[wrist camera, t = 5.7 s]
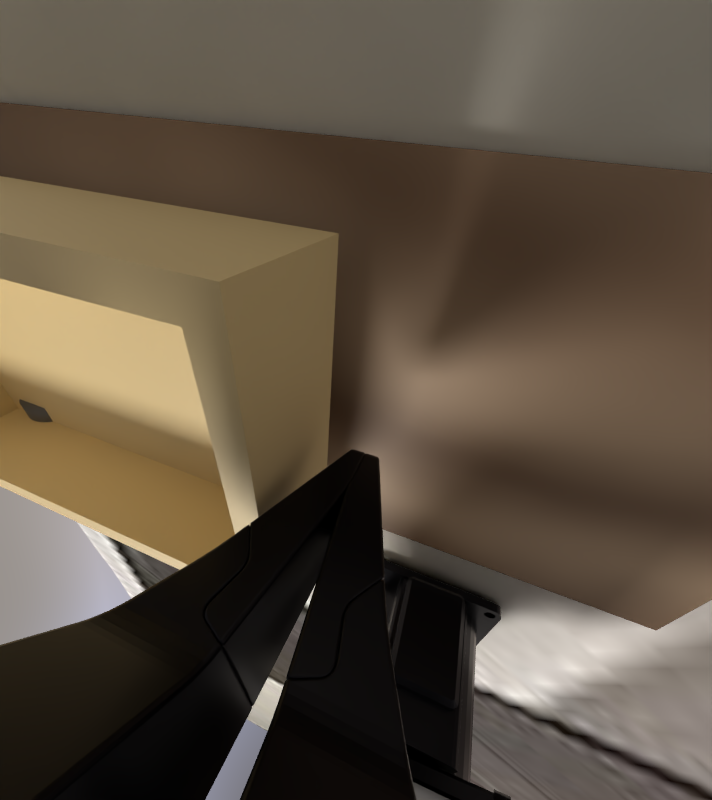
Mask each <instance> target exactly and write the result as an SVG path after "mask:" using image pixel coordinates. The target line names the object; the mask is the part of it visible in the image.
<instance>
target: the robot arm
mask: <svg viewBox="0 0 712 800" xmlns="http://www.w3.org/2000/svg"><path fill="white" fill-rule="evenodd" d="M315 584H316V585H315ZM314 586H315V588H314ZM313 588H314V592H313V595H312V598H311V601H310V604H309V607H308V611H307V614H306V617H305V620H304V623H303V626H302V630H301V633H300V636H299V639H298V642H297V645H296V648H295V652H294V655H293V658H292V661H291V664H290V667H289V671H288V674H287V680H286V681H285V683H284V686H283V690H282V693H281V696H280V699H279V702H278V705H277V707H276V710H275V713H274V716H273V719H272V721H271V724H270V727H269V729H268V732H267V735H266V737H265V739H264V742H263V744H262V747H261V749H260V752H259V754H258V756H257V759H256V761H255V764H254V766H253V769H252V771H251V774H250V776H249V779H248V781H247V784H246V786H245V788H244V791H243V793H242V796H241V798H240V800H511V797H510V796H508V795H506V794H503V793H501V792H499V791H497V790H495V789H494V793H493V792H490V791H488V790H486V789H484V788H481V787H479V786H477V785H475V784H473V783H470V776H471V752H472V727H473V703H474V679H475V655H476V645H477V644H478V643H479V642H480V641H481V640H482V639H483V638H484V637H485V636H486V635H487V634H488V632H489V631H490V630H491V629H492V628H493V627H494V626H495V625H496V624H497V623H498V622H499V621H500V620H501V608H500V606H498V605H497V604H495V603H493V602H491V601H488V600H486V599H483V598H481V597H478V596H475V595H473V594H470V593H468V592H465V591H463V590H460V589H458V588H455V587H452V586H450V585H447V584H445V583H442V582H440V581H437V580H435V579H432V578H430V577H427V576H424V575H422V574H419V573H417V572H414V571H412V570H409V569H407V568H404V567H401V566H399V565H396V564H394V563H391V562H389V561H386V560H384V554H383V531H382V508H381V485H380V462H379V458H378V457H377V456H373V455H370V454H367V453H366V454H365V453H364V452H361V451H358V450H355V449H351V450H350V451H348V452H347V453H345V454H344V455H343V456H341V457H340V458H339V459H337V460H336V461H334V462H333V463H332V464H330V465H329V466H328V467H326V468H325V469H324V470H322V471H321V472H319V473H318V474H317V475H315V476H314V477H313V478H311V479H310V480H309V481H307V482H306V483H304V484H303V485H302V486H300V487H299V488H298V489H296V490H295V491H293V492H292V493H291V494H289V495H288V496H287V497H285V498H284V499H283V500H281V501H280V502H278V503H277V504H276V505H274V506H273V507H272V508H270V509H269V510H268V511H266V512H265V513H263V514H262V515H261V516H259V517H258V518H257V519H255V520H254V521H252V522H251V523H250V525H247V526H245V527H244V528H243V529H241V530H240V531H239V532H237V533H236V534H235V535H233V536H232V537H230V538H229V539H227V540H226V541H224V542H223V543H222V544H220V545H219V546H217V547H216V548H214V549H213V550H211V551H210V552H208V553H206V554H205V555H203V556H202V557H200V558H198V559H197V560H195V561H194V562H192V563H190V564H189V565H187V566H185V567H184V568H182V569H180V570H179V571H177V572H175V573H174V574H172V575H170V576H169V577H167V578H165V579H164V580H162V581H160V582H158V583H157V584H155V585H153V586H152V587H150V588H148V589H147V590H145V591H143V592H142V593H140V594H138V595H137V596H135V597H133V598H132V599H130V600H128V601H126V602H125V603H123V604H121V605H119V606H117V607H115V608H113V609H111V610H109V611H107V612H104V613H102V614H100V615H98V616H95V617H93V618H90V619H87V620H84V621H81V622H78V623H74V624H71V625H67V626H64V627H60V628H57V629H54V630H50V631H47V632H43V633H40V634H36V635H33V636H30V637H26V638H23V639H20V640H16V641H13V642H10V643H6V644H2V645H0V800H205V799H206V796H207V795H208V793H209V791H210V789H211V787H212V785H213V783H214V781H215V779H216V777H217V775H218V773H219V772H220V770H221V768H222V766H223V764H224V762H225V760H226V758H227V756H228V754H229V752H230V750H231V748H232V746H233V744H234V742H235V740H236V738H237V736H238V734H239V733H240V731H241V729H242V727H243V725H244V723H245V721H246V719H247V717H248V715H249V713H250V711H251V709H252V706H253V705H254V703H255V701H256V699H257V697H258V695H259V693H260V691H261V689H262V687H263V685H264V684H265V682H266V680H267V678H268V676H269V674H270V672H271V670H272V668H273V666H274V664H275V662H276V660H277V658H278V656H279V654H280V652H281V650H282V648H283V646H284V644H285V642H286V641H287V639H288V637H289V635H290V633H291V631H292V629H293V627H294V625H295V623H296V621H297V619H298V617H299V615H300V613H301V611H302V609H303V607H304V605H305V603H306V601H307V600H308V598H309V596H310V594H311V592H312V590H313Z"/></svg>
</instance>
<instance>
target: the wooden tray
mask: <svg viewBox="0 0 712 800" xmlns="http://www.w3.org/2000/svg"><path fill="white" fill-rule="evenodd" d="M338 239H339V233H334V232H328V231H322V230H316V229H310V228H304V227H298V226H292V225H287V224H281V223H275V222H269V221H263V220H257V219H251V218H245V217H239V216H233V215H227V214H222V213H216V212H210V211H204V210H198V209H192V208H186V207H180V206H174V205H168V204H162V203H157V202H151V201H145V200H139V199H133V198H127V197H121V196H115V195H109V194H103V193H97V192H92V191H86V190H80V189H74V188H68V187H62V186H56V185H50V184H44V183H38V182H32V181H27V180H21V179H15V178H9V177H3V176H0V486H1V487H3V488H5V489H7V490H9V491H12V492H14V493H16V494H18V495H20V496H22V497H25V498H27V499H29V500H31V501H33V502H35V503H37V504H40V505H42V506H44V507H46V508H48V509H51V510H53V511H55V512H57V513H59V514H61V515H63V516H65V517H68V518H70V519H72V520H74V521H76V522H78V523H80V524H83V525H85V526H87V527H89V528H91V529H93V530H95V531H98V532H100V533H102V534H104V535H106V536H108V537H111V538H113V539H115V540H117V541H119V542H121V543H123V544H126V545H128V546H130V547H132V548H134V549H136V550H138V551H141V552H143V553H145V554H147V555H149V556H151V557H154V558H156V559H158V560H160V561H162V562H164V563H166V564H169V565H171V566H173V567H175V568H177V569H179V570H180V569H182V568H184V567H185V566H187V565H189V564H190V563H192V562H194V561H195V560H197V559H198V558H200V557H202V556H203V555H205V554H206V553H208V552H210V551H211V550H213V549H214V548H216V547H217V546H219V545H220V544H222V543H223V542H224V541H226V540H227V539H229V538H230V537H232V536H233V535H235V534H236V533H237V532H239V531H240V530H241V529H243V528H244V527H245V526H247V525H250V523H251V522H252V521H254V520H255V519H257V518H258V517H259V516H261V515H262V514H263V513H265V512H266V511H268V510H269V509H270V508H272V507H273V506H274V505H276V504H277V503H278V502H280V501H281V500H283V499H284V498H285V497H287V496H288V495H289V494H291V493H292V492H293V491H295V490H296V489H298V488H299V487H300V486H302V485H303V484H304V483H306V482H307V481H309V480H310V479H311V478H313V477H314V476H315V475H317V474H318V473H319V472H321V471H322V470H324V469H325V468H326V467H327V457H328V437H329V417H330V398H331V378H332V358H333V338H334V318H335V299H336V279H337V259H338Z"/></svg>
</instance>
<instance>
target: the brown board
mask: <svg viewBox="0 0 712 800" xmlns="http://www.w3.org/2000/svg"><path fill="white" fill-rule="evenodd" d="M0 176H3V177H9V178H15V179H21V180H27V181H32V182H38V183H44V184H50V185H56V186H62V187H68V188H74V189H80V190H86V191H92V192H97V193H103V194H109V195H115V196H121V197H127V198H133V199H139V200H145V201H151V202H157V203H162V204H168V205H174V206H180V207H186V208H192V209H198V210H204V211H210V212H216V213H222V214H227V215H233V216H239V217H245V218H251V219H257V220H263V221H269V222H275V223H281V224H287V225H292V226H298V227H304V228H310V229H316V230H322V231H328V232H334V233H339V239H338V259H337V279H336V299H335V318H334V338H333V358H332V378H331V398H330V417H329V437H328V457H327V467H328V466H329V465H330V464H332V463H333V462H334V461H336V460H337V459H339V458H340V457H341V456H343V455H344V454H345V453H347V452H348V451H350V450H351V449H355V450H358V451H361V452H364V453H365V454H366V453H367V454H370V455H373V456H377V457H378V458H379V462H380V485H381V508H382V529H384V530H387V531H389V532H392V533H395V534H397V535H400V536H403V537H406V538H408V539H411V540H414V541H416V542H419V543H422V544H424V545H427V546H430V547H433V548H435V549H438V550H441V551H443V552H446V553H449V554H451V555H454V556H457V557H459V558H462V559H465V560H468V561H470V562H473V563H476V564H478V565H481V566H484V567H486V568H489V569H492V570H495V571H497V572H500V573H503V574H505V575H508V576H511V577H513V578H516V579H519V580H522V581H524V582H527V583H530V584H532V585H535V586H538V587H540V588H543V589H546V590H549V591H551V592H554V593H557V594H559V595H562V596H565V597H567V598H570V599H573V600H575V601H578V602H581V603H584V604H586V605H589V606H592V607H594V608H597V609H600V610H602V611H605V612H608V613H611V614H613V615H616V616H619V617H621V618H624V619H627V620H629V621H632V622H635V623H638V624H640V625H643V626H646V627H648V628H651V629H654V630H658V629H659V628H661V627H663V626H665V625H667V624H669V623H670V622H672V621H674V620H676V619H678V618H679V617H681V616H683V615H685V614H687V613H688V612H690V611H692V610H694V609H696V608H697V607H699V606H701V605H703V604H705V603H706V602H708V601H710V600H712V173H705V172H695V171H684V170H674V169H664V168H654V167H644V166H634V165H624V164H614V163H604V162H594V161H584V160H574V159H564V158H554V157H543V156H533V155H523V154H513V153H503V152H493V151H483V150H473V149H463V148H453V147H443V146H433V145H423V144H412V143H402V142H392V141H382V140H372V139H362V138H352V137H342V136H332V135H322V134H312V133H302V132H292V131H281V130H271V129H261V128H251V127H241V126H231V125H221V124H211V123H201V122H191V121H181V120H171V119H161V118H150V117H140V116H130V115H120V114H110V113H100V112H90V111H80V110H70V109H60V108H50V107H40V106H30V105H19V104H9V103H0Z"/></svg>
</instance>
